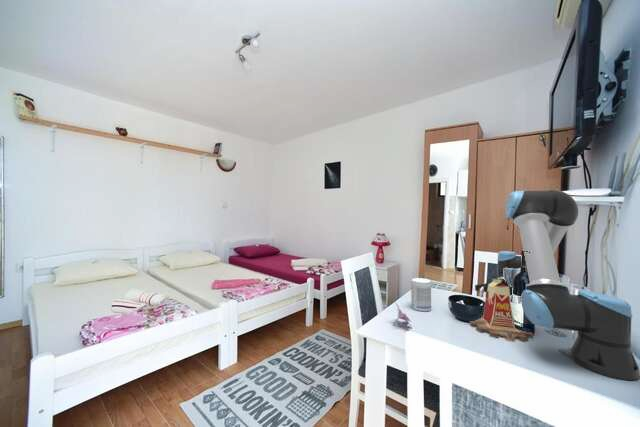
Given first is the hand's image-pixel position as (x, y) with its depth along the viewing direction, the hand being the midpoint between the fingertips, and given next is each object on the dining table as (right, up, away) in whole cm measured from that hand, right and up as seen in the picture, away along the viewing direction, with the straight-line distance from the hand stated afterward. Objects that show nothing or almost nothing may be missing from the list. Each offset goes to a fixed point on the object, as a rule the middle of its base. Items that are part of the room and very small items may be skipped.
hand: (499, 296), depth 109 cm
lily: (-40, -14, +4) cm, 43 cm away
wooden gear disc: (+1, -14, +1) cm, 14 cm away
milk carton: (0, -13, +1) cm, 13 cm away
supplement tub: (-24, -14, +24) cm, 36 cm away
